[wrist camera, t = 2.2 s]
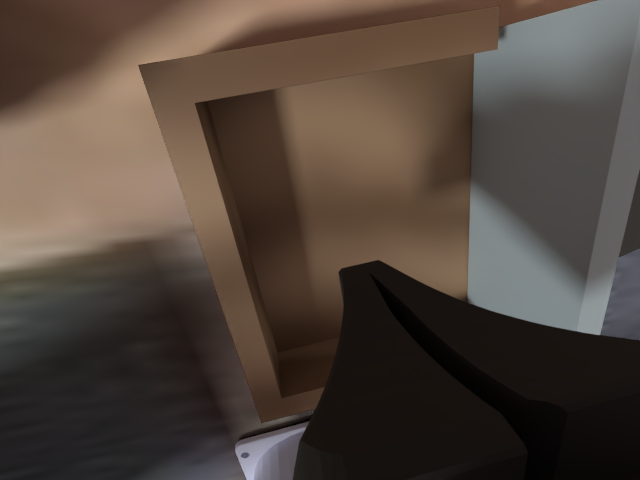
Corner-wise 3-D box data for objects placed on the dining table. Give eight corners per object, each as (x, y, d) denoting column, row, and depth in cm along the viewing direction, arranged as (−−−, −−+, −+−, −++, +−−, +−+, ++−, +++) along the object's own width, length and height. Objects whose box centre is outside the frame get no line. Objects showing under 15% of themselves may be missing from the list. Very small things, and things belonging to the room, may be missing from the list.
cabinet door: (467, 316, 19) (559, 414, 13) (474, 34, 13) (645, -13, 8) (483, 312, 19) (582, 407, 13) (497, 30, 14) (685, -20, 8)
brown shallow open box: (471, 308, 21) (518, 354, 17) (260, 361, 19) (261, 423, 16) (481, 21, 14) (558, -4, 11) (170, 73, 13) (138, 65, 9)
